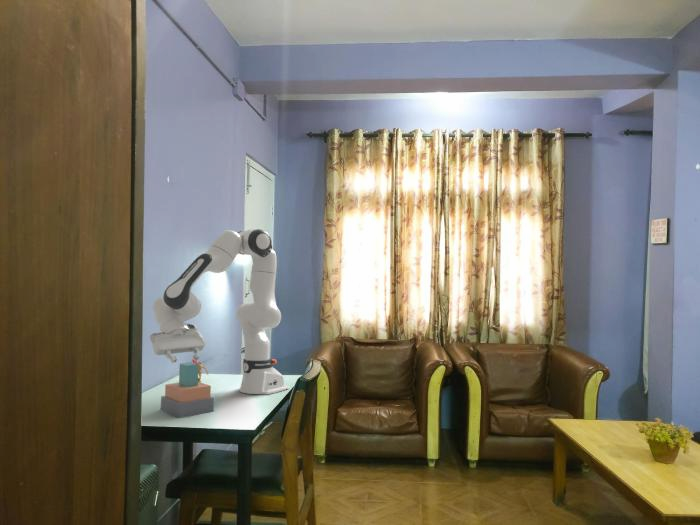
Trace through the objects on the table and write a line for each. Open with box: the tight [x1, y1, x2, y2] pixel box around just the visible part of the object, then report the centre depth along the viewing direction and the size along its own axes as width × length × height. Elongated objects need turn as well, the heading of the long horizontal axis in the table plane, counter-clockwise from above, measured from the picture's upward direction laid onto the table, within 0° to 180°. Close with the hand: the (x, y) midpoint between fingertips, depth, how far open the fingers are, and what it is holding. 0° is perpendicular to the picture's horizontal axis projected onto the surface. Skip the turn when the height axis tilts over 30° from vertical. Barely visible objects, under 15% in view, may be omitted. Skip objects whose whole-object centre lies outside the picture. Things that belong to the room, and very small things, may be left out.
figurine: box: [197, 362, 209, 382], centre depth 229 cm, size 8×6×12 cm
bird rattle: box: [191, 358, 202, 383], centre depth 247 cm, size 6×11×9 cm
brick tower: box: [160, 381, 215, 419], centre depth 198 cm, size 14×14×10 cm
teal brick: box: [178, 361, 199, 387], centre depth 198 cm, size 5×5×8 cm
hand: (185, 360), depth 200 cm, fingers open, 8 cm apart
